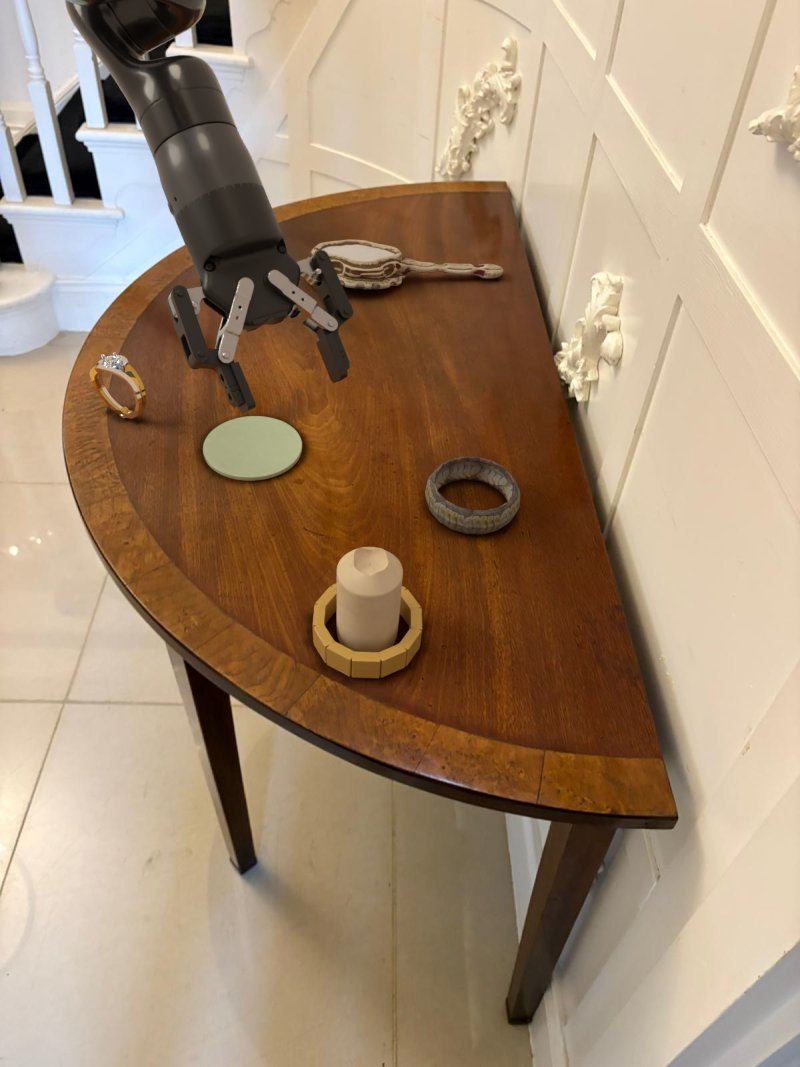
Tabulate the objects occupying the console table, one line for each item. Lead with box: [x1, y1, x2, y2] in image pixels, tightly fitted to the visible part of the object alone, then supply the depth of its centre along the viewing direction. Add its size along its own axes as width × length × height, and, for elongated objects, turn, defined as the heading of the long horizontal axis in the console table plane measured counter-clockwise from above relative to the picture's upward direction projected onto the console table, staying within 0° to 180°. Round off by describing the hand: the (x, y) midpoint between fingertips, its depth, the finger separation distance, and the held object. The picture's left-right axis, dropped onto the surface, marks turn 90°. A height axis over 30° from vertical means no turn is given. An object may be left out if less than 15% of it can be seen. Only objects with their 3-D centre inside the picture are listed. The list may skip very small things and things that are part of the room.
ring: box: [88, 351, 147, 420], centre depth 89 cm, size 7×3×8 cm, turn 57°
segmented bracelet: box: [312, 582, 423, 679], centre depth 70 cm, size 10×10×2 cm
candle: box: [336, 546, 404, 652], centre depth 68 cm, size 6×6×10 cm
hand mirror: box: [307, 239, 504, 290], centre depth 117 cm, size 11×6×30 cm
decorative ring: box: [424, 456, 521, 535], centre depth 83 cm, size 10×3×10 cm
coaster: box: [202, 415, 303, 482], centre depth 89 cm, size 11×11×1 cm
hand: (296, 394), depth 64 cm, fingers open, 8 cm apart
